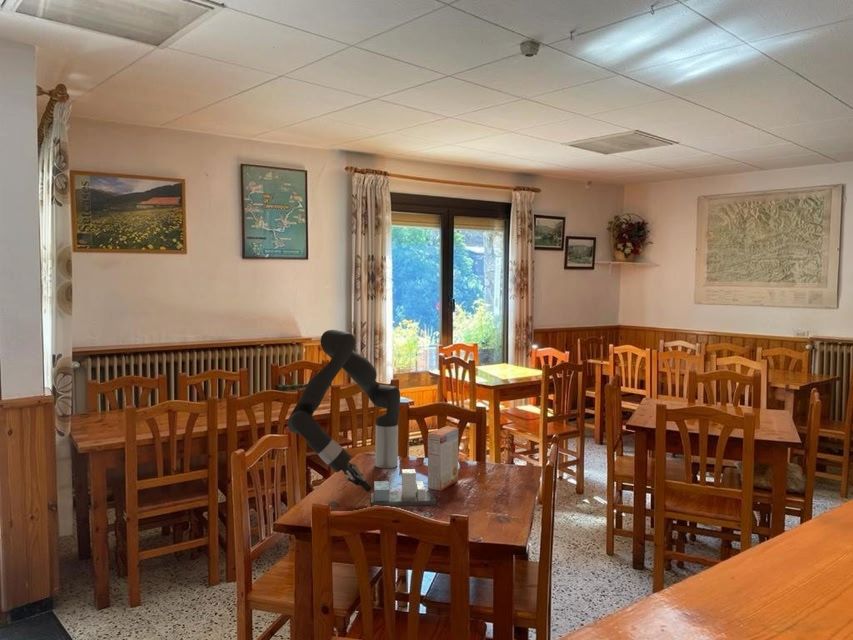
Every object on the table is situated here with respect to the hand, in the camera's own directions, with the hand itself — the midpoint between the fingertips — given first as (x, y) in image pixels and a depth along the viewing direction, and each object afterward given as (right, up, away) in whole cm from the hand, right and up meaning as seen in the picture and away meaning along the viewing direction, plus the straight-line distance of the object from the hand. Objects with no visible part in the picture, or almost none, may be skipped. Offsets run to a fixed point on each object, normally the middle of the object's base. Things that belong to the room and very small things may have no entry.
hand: (369, 489), depth 218 cm
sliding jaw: (+4, -3, +1) cm, 5 cm away
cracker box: (+26, -4, +19) cm, 32 cm away
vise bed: (+11, -4, +1) cm, 12 cm away
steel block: (+13, -3, +2) cm, 14 cm away
